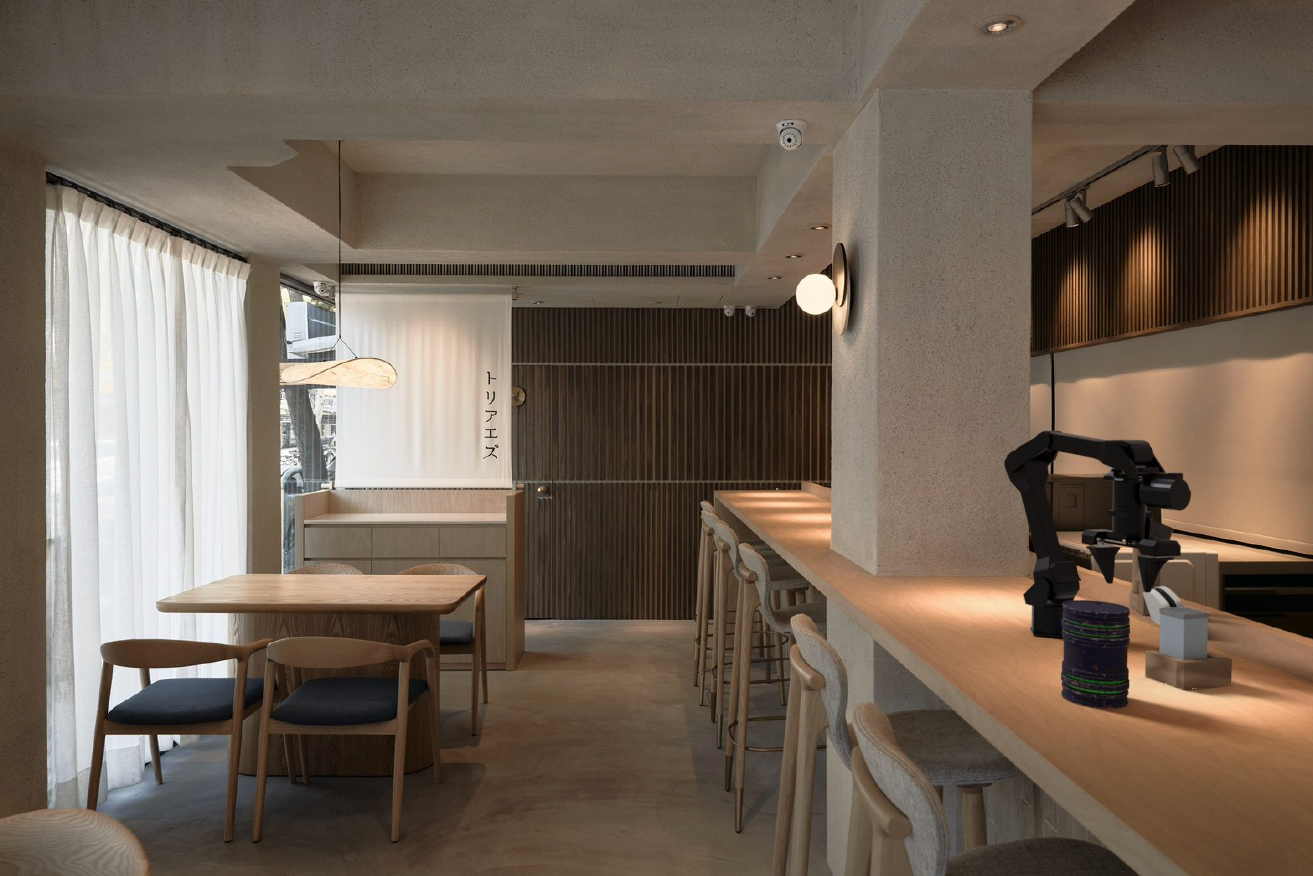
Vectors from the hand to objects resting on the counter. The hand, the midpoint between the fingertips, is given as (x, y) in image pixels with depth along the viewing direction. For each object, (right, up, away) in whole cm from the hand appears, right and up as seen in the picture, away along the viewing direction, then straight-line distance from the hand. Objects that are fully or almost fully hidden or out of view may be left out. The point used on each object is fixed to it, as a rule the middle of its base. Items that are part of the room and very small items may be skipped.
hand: (1128, 587), depth 168 cm
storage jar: (-19, -14, -26) cm, 35 cm away
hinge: (+21, -13, +23) cm, 34 cm away
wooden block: (+26, -13, +41) cm, 50 cm away
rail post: (+1, -13, -15) cm, 20 cm away
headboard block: (+1, -13, -15) cm, 20 cm away
